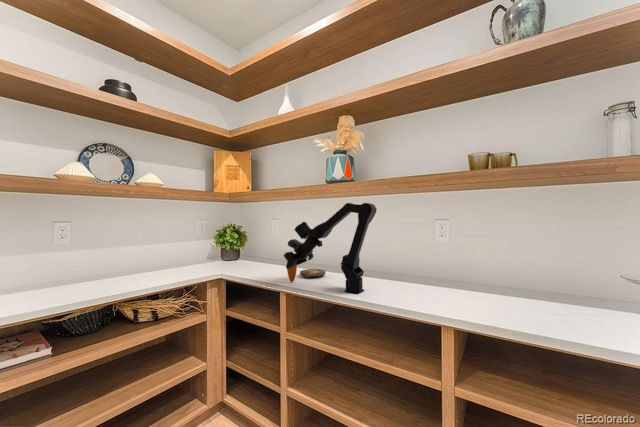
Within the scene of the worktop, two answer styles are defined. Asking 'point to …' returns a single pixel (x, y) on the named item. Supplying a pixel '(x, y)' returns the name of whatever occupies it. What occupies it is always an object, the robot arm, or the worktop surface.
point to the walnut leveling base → (312, 273)
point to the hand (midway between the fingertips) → (289, 267)
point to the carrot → (292, 272)
